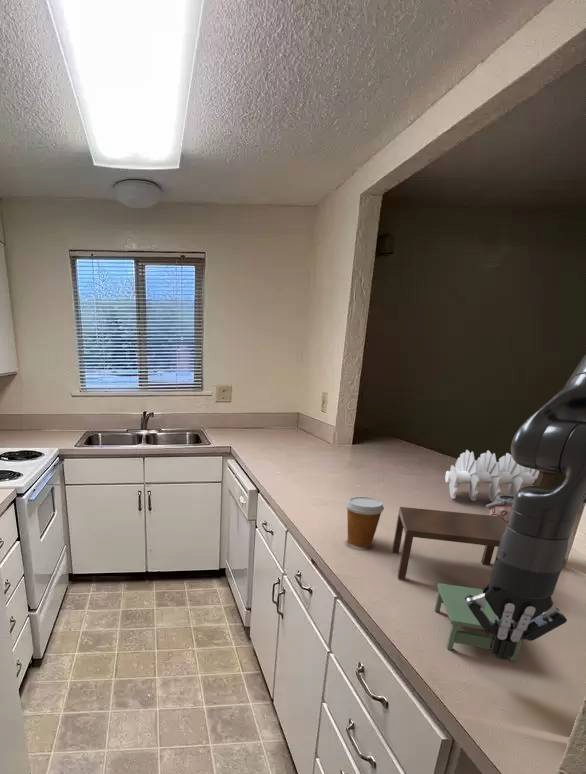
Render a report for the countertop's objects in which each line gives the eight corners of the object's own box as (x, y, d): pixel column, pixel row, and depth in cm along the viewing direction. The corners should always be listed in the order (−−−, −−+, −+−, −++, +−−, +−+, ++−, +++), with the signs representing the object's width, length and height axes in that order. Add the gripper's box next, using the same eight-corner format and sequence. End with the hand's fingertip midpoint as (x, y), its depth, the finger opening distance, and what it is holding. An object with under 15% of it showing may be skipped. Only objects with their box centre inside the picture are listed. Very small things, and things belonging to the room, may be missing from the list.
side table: (488, 562, 109) (500, 516, 104) (508, 595, 94) (524, 543, 90) (391, 550, 116) (399, 506, 111) (398, 579, 102) (406, 530, 97)
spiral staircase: (439, 504, 159) (520, 507, 152) (453, 498, 143) (544, 502, 135) (440, 455, 161) (520, 456, 153) (454, 444, 144) (545, 444, 136)
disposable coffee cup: (377, 551, 115) (384, 509, 111) (339, 545, 119) (344, 504, 115) (378, 538, 123) (384, 498, 119) (343, 533, 127) (348, 494, 123)
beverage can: (472, 533, 125) (482, 494, 121) (493, 529, 127) (503, 491, 123) (504, 546, 117) (515, 505, 113) (526, 542, 119) (538, 501, 115)
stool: (494, 618, 87) (501, 592, 85) (518, 663, 74) (527, 634, 72) (432, 608, 90) (437, 583, 88) (445, 649, 78) (452, 621, 76)
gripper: (573, 553, 64) (540, 650, 70) (469, 542, 68) (447, 633, 74) (599, 578, 57) (560, 682, 63) (482, 563, 62) (456, 662, 68)
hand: (499, 655), depth 69 cm, fingers closed
